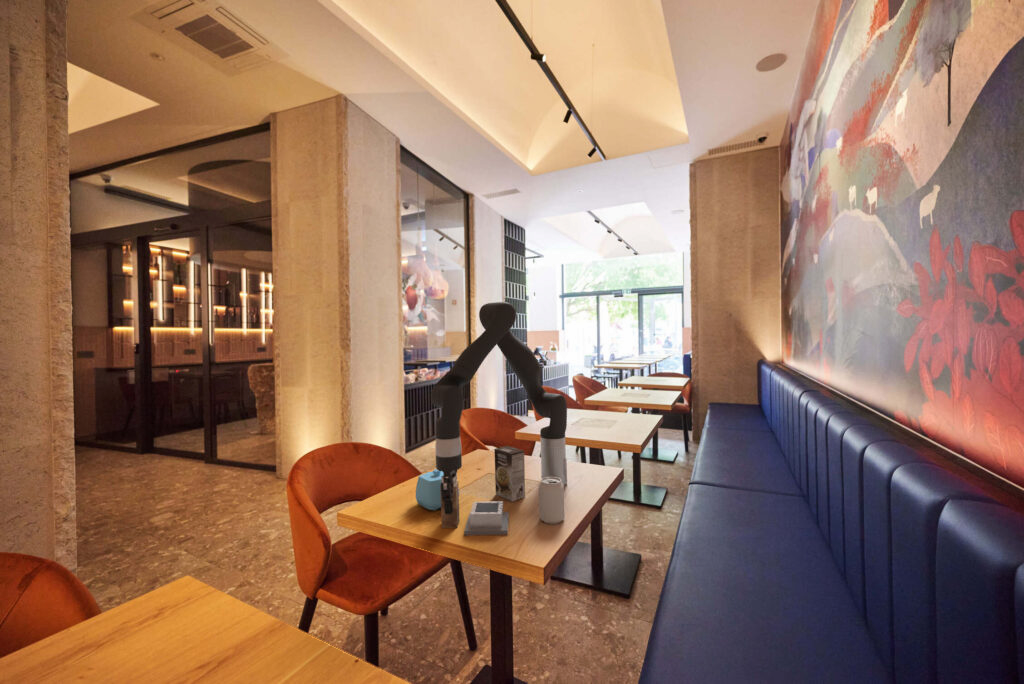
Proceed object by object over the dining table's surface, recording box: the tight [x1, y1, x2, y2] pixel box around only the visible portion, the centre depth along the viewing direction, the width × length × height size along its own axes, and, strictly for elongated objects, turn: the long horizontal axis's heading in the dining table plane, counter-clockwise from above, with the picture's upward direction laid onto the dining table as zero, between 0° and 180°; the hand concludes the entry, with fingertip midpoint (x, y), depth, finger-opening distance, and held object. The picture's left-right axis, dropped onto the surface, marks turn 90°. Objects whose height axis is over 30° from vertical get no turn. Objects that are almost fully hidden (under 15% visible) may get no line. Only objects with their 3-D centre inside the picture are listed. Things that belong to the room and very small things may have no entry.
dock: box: [463, 500, 510, 536], centre depth 120 cm, size 12×12×5 cm
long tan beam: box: [440, 480, 460, 529], centre depth 121 cm, size 4×4×12 cm
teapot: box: [415, 468, 443, 511], centre depth 135 cm, size 12×18×12 cm
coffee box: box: [493, 445, 526, 502], centre depth 142 cm, size 9×6×16 cm
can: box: [538, 477, 566, 525], centre depth 123 cm, size 8×8×12 cm
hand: (450, 509), depth 121 cm, fingers closed on long tan beam, 4 cm apart
